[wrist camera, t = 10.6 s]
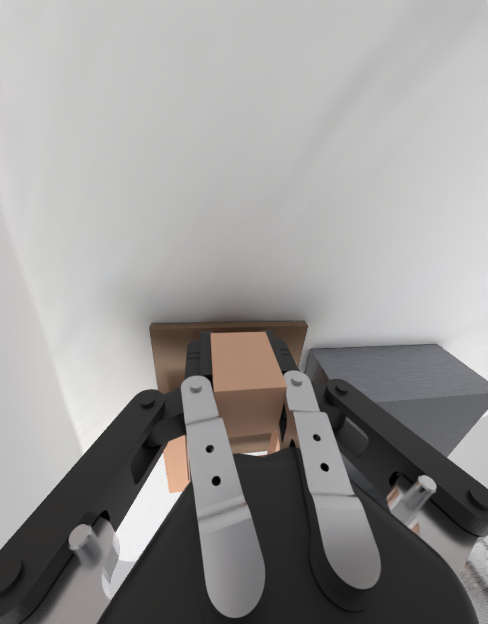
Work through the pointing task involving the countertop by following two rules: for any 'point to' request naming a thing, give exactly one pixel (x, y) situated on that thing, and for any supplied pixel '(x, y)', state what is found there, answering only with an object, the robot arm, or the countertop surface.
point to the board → (176, 337)
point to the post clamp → (416, 413)
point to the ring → (237, 396)
